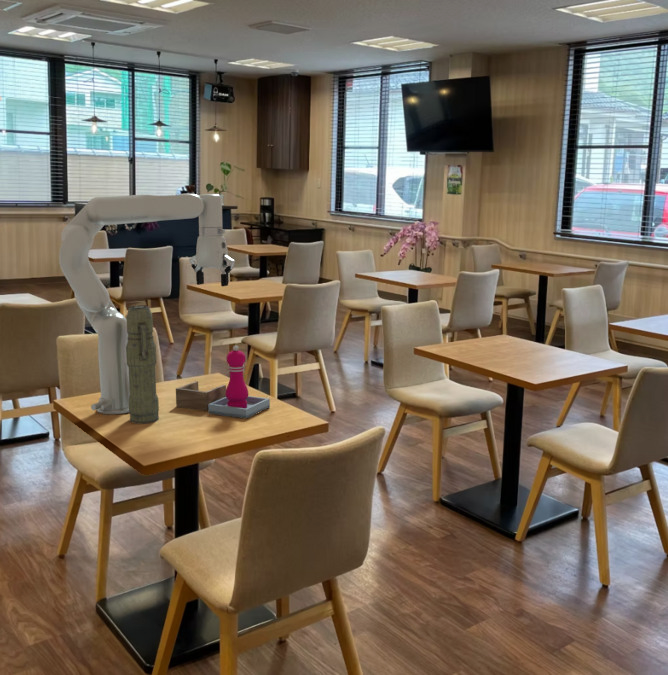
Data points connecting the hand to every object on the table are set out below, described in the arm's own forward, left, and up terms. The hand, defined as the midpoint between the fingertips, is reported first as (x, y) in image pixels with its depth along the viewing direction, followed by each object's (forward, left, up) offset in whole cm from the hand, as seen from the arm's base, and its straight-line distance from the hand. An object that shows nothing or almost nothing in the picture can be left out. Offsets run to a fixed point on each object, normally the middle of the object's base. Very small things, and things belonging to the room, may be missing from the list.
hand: (212, 285), depth 264 cm
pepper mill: (-10, -15, -37) cm, 41 cm away
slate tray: (-10, -16, -38) cm, 42 cm away
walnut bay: (-9, -1, -38) cm, 39 cm away
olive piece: (-31, +5, -38) cm, 50 cm away
